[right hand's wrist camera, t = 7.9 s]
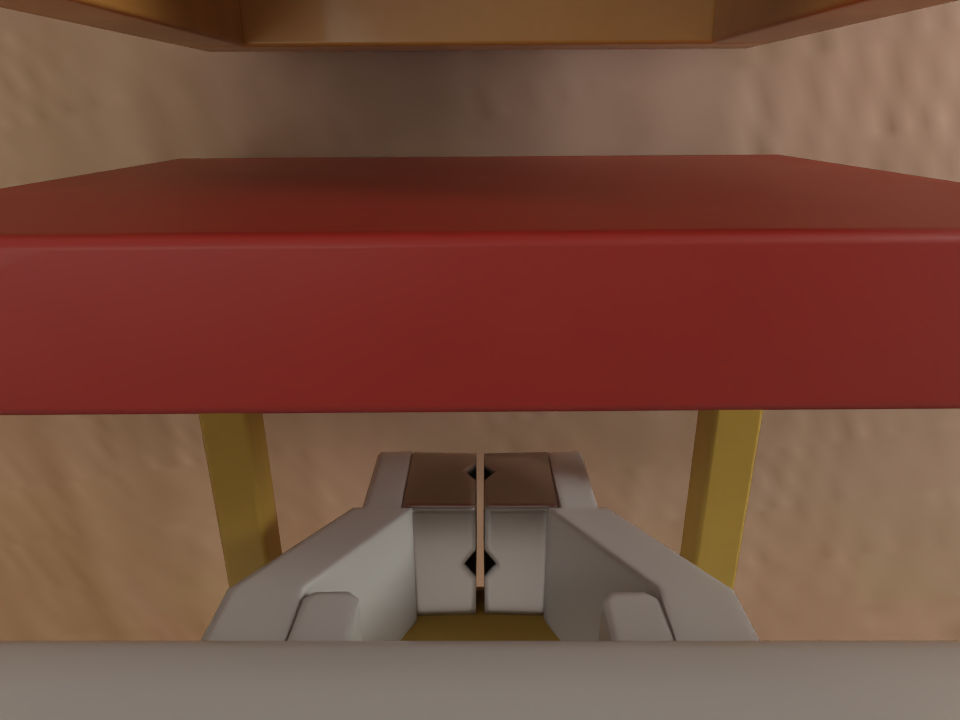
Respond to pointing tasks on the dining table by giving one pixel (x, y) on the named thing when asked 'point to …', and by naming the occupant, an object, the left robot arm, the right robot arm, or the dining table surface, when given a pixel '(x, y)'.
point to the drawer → (478, 270)
